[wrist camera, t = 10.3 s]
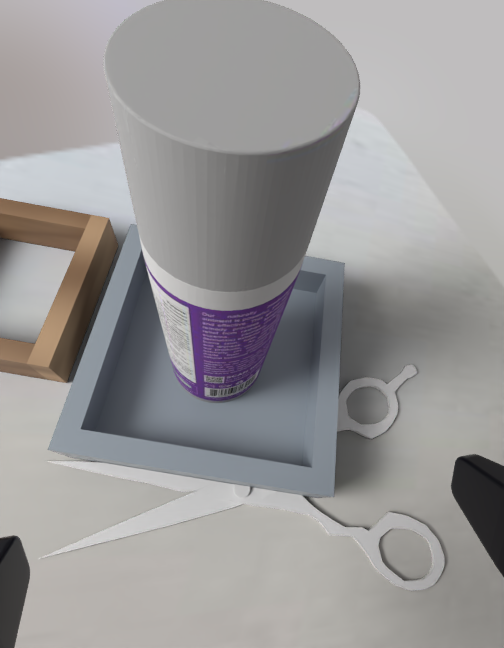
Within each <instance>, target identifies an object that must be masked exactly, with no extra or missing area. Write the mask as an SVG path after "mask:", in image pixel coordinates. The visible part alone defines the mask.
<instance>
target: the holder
mask: <svg viewBox="0 0 504 648" xmlns="http://www.w3.org/2000/svg"><path fill="white" fill-rule="evenodd" d="M0 238H4V239H10V240H15V241H21V242H26V243H32V244H37V245H43V246H48V247H54V248H59V249H65V250H71V251H75V254H74V256H73V258H72V260H71V263H70V265H69V267H68V270H67V272H66V274H65V277H64V279H63V281H62V283H61V286H60V288H59V290H58V293H57V295H56V297H55V300H54V302H53V304H52V306H51V309H50V311H49V313H48V316H47V318H46V320H45V323H44V325H43V327H42V329H41V332H40V334H39V336H38V339H37V341H36V343H35V344H33V343H27V342H22V341H16V340H10V339H4V338H0V372H6V373H12V374H18V375H23V376H29V377H35V378H41V379H47V380H53V381H59V382H65V383H67V381H68V378H69V376H70V373H71V370H72V368H73V365H74V362H75V360H76V357H77V354H78V352H79V349H80V346H81V344H82V341H83V338H84V336H85V333H86V330H87V328H88V325H89V322H90V320H91V317H92V314H93V312H94V309H95V306H96V304H97V301H98V298H99V296H100V293H101V290H102V288H103V285H104V282H105V280H106V277H107V274H108V272H109V269H110V266H111V264H112V261H113V258H114V256H115V253H116V250H117V248H118V243H117V240H116V237H115V234H114V231H113V228H112V226H111V223H110V220H109V218H105V217H100V216H94V215H89V214H83V213H78V212H73V211H67V210H62V209H56V208H51V207H45V206H40V205H34V204H29V203H23V202H18V201H13V200H7V199H2V198H0Z"/></svg>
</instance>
